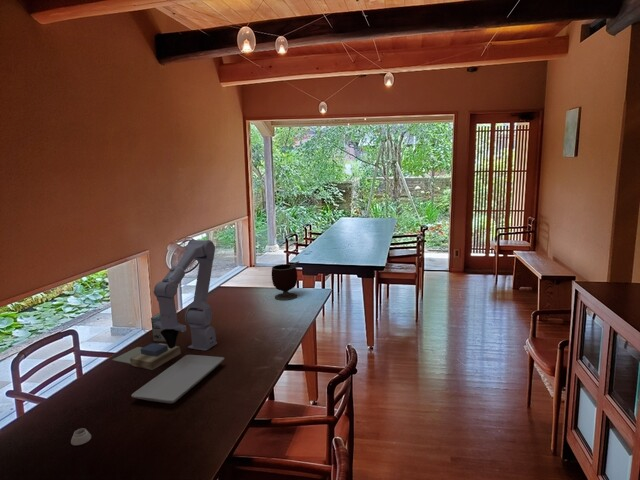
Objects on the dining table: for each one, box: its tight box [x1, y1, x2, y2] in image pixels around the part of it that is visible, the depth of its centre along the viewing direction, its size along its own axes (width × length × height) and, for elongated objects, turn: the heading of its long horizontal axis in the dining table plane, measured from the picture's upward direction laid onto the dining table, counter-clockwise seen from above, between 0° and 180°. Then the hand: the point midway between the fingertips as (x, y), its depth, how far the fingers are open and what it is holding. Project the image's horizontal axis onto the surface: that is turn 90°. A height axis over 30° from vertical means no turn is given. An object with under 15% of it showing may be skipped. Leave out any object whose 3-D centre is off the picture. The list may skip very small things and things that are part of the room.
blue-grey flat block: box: [141, 342, 168, 357], centre depth 177 cm, size 8×6×2 cm
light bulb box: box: [150, 311, 179, 343], centre depth 200 cm, size 11×7×11 cm, turn 168°
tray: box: [130, 354, 225, 405], centre depth 157 cm, size 17×31×4 cm, turn 162°
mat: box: [111, 346, 143, 365], centre depth 182 cm, size 11×13×1 cm
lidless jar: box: [70, 427, 92, 446], centre depth 127 cm, size 5×3×5 cm
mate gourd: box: [271, 260, 300, 302], centre depth 247 cm, size 16×14×20 cm
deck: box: [130, 342, 182, 371], centre depth 177 cm, size 11×15×3 cm
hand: (172, 347), depth 172 cm, fingers closed
